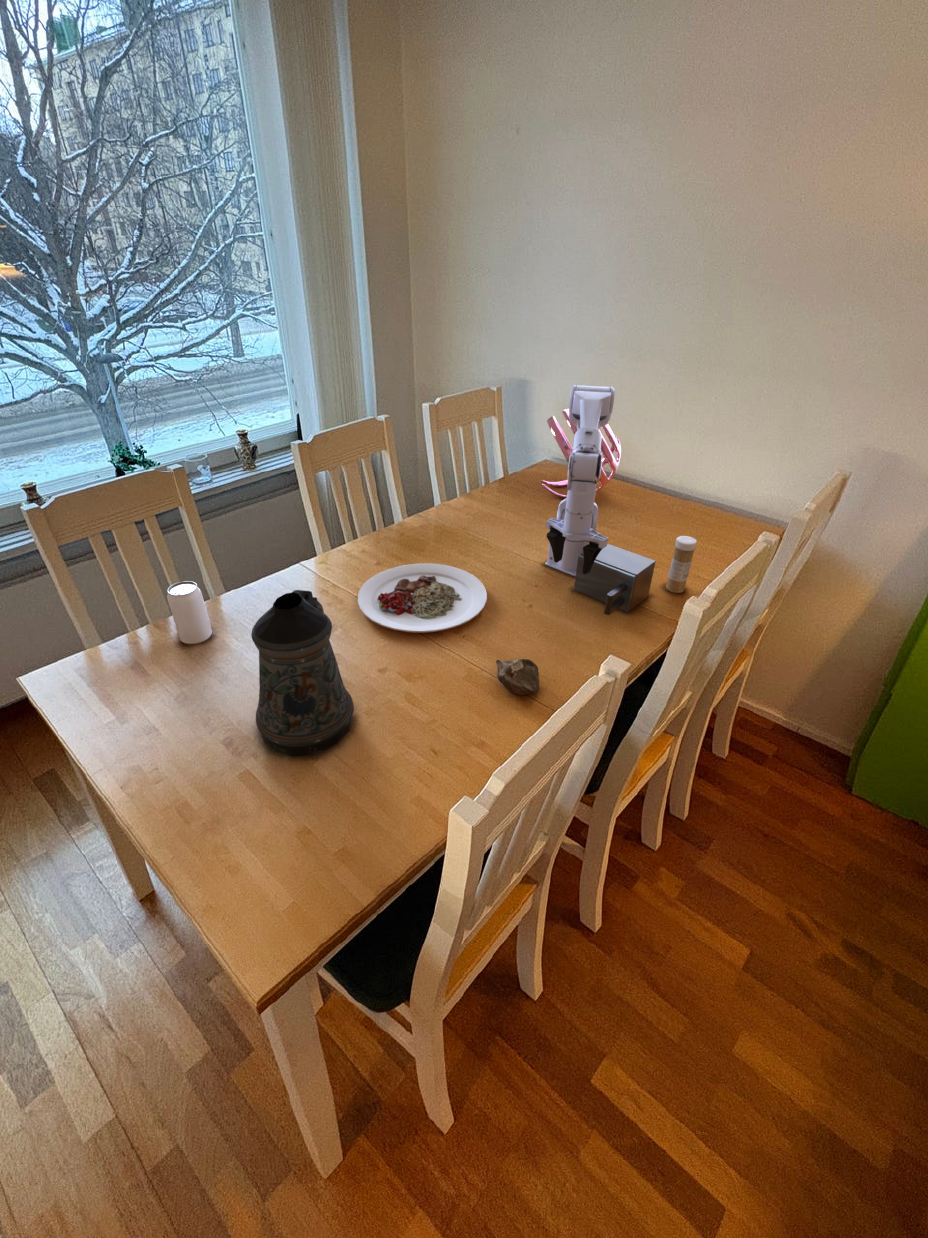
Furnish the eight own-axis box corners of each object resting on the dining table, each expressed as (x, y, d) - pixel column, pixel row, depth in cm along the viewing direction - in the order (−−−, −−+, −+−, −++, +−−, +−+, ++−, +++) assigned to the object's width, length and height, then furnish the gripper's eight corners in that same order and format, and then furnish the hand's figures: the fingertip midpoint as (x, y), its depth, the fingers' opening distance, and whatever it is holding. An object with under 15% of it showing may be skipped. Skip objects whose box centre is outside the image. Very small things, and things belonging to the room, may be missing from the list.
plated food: (512, 600, 140) (513, 587, 138) (420, 656, 122) (420, 642, 120) (424, 558, 157) (424, 546, 155) (331, 601, 139) (330, 589, 137)
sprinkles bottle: (676, 583, 148) (688, 533, 140) (688, 592, 144) (701, 542, 136) (661, 586, 146) (672, 536, 139) (672, 595, 143) (684, 545, 135)
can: (219, 631, 128) (206, 583, 122) (198, 647, 123) (184, 598, 116) (194, 625, 130) (180, 577, 123) (173, 641, 125) (157, 592, 118)
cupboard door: (612, 624, 132) (618, 588, 127) (557, 600, 140) (561, 565, 135) (629, 611, 136) (636, 575, 131) (575, 588, 145) (580, 554, 139)
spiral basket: (512, 441, 178) (594, 388, 169) (519, 436, 204) (590, 391, 195) (558, 521, 183) (640, 474, 175) (559, 507, 209) (630, 466, 201)
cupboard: (629, 611, 137) (636, 574, 131) (576, 588, 145) (580, 553, 139) (648, 596, 142) (655, 560, 137) (595, 575, 150) (601, 541, 145)
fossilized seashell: (486, 662, 116) (500, 701, 109) (506, 639, 113) (521, 678, 106) (515, 671, 120) (530, 709, 113) (535, 649, 117) (552, 688, 110)
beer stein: (266, 770, 96) (235, 646, 82) (251, 696, 111) (222, 580, 97) (365, 741, 102) (352, 620, 88) (338, 675, 116) (323, 562, 102)
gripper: (540, 505, 126) (535, 561, 134) (598, 525, 118) (589, 584, 126) (559, 496, 131) (553, 551, 138) (617, 515, 123) (607, 572, 130)
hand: (571, 566), depth 132 cm, fingers open, 7 cm apart
